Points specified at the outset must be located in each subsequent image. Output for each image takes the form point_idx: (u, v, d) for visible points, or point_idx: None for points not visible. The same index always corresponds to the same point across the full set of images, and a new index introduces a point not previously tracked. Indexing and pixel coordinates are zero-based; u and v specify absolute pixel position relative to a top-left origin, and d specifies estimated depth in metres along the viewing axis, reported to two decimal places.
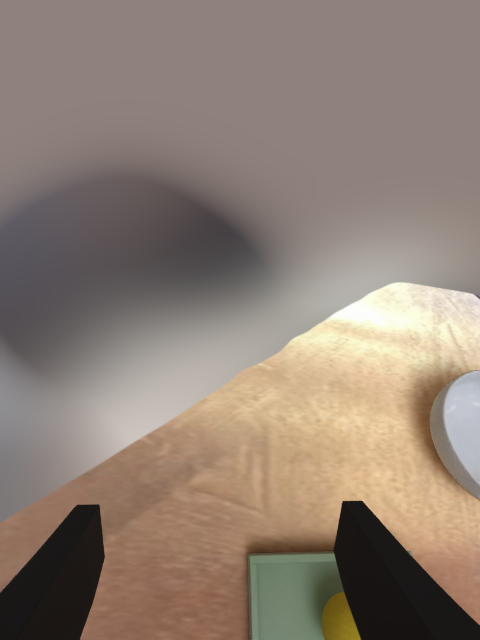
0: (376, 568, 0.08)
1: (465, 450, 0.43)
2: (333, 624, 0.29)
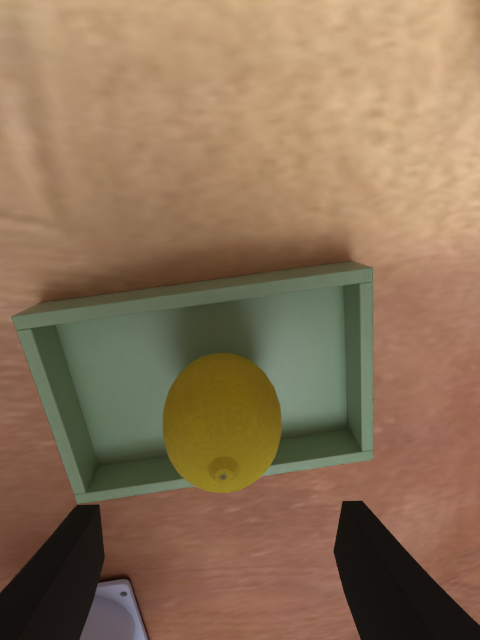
0: (376, 568, 0.08)
1: None
2: (164, 427, 0.14)
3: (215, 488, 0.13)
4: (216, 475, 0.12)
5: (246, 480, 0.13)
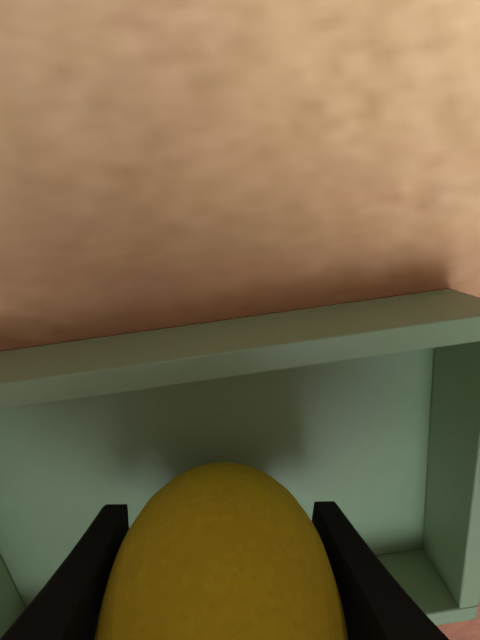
0: (341, 569, 0.08)
1: None
2: None
3: None
4: None
5: None
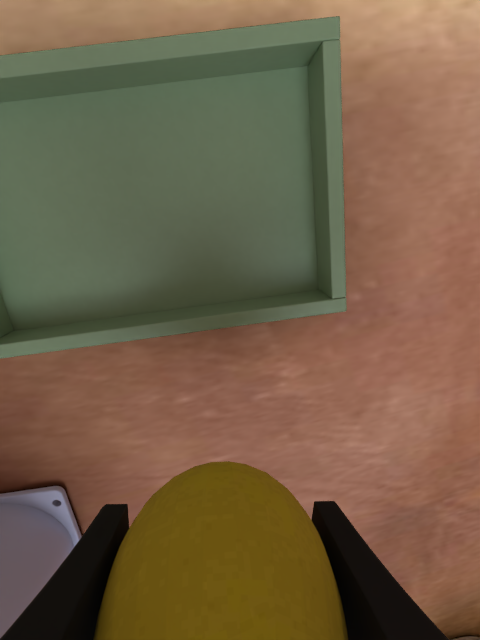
0: (341, 569, 0.08)
1: None
2: None
3: None
4: None
5: None
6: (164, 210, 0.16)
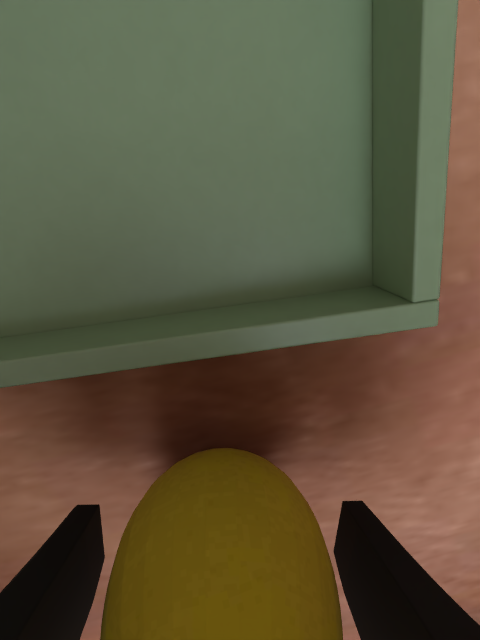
0: (376, 568, 0.08)
1: None
2: None
3: None
4: None
5: None
6: (94, 138, 0.08)
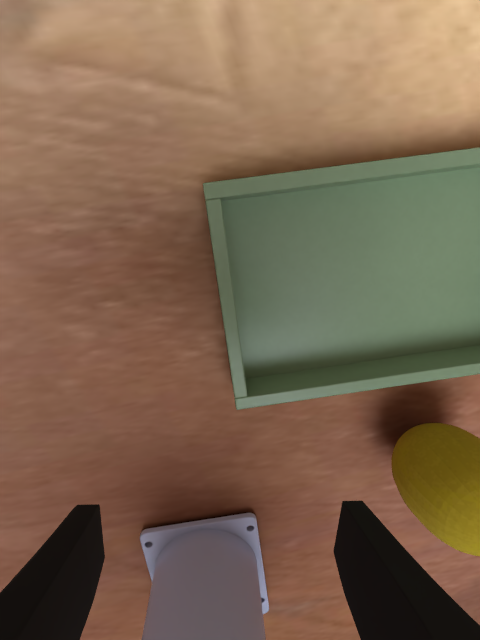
0: (376, 568, 0.08)
1: None
2: (429, 499, 0.16)
3: None
4: None
5: None
6: (388, 277, 0.18)
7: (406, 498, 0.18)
